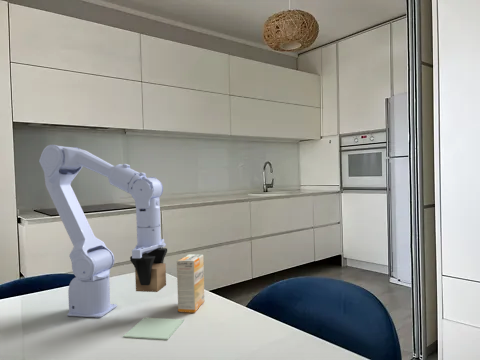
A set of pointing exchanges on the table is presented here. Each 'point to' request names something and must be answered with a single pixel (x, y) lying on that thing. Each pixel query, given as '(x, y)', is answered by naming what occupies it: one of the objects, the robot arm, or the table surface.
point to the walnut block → (153, 279)
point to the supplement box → (190, 282)
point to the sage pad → (154, 328)
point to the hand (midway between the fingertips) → (150, 281)
